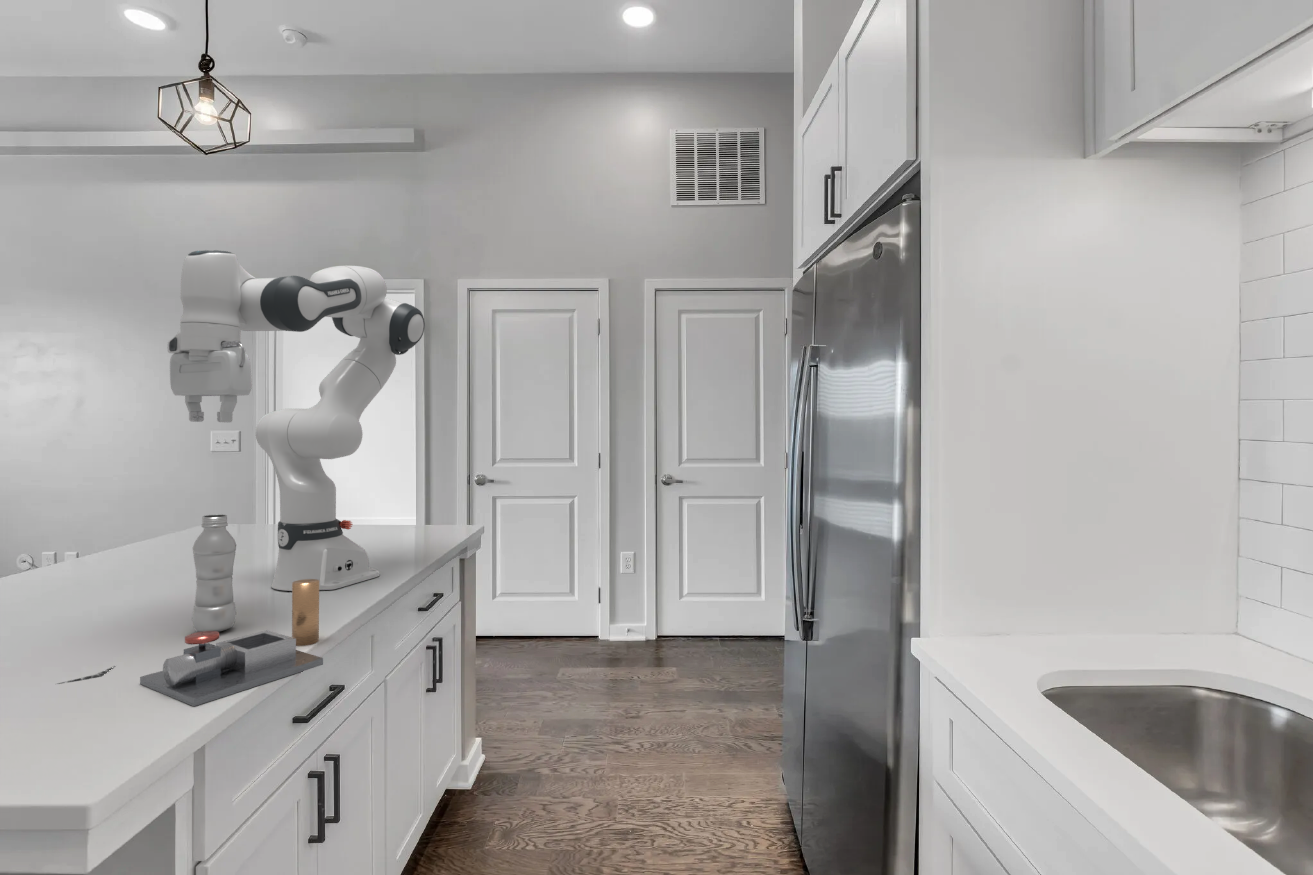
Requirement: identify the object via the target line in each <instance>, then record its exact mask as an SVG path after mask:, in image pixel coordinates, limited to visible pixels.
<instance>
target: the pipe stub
mask: <svg viewBox="0 0 1313 875" xmlns="http://www.w3.org/2000/svg"><path fill="white" fill-rule="evenodd" d="M291 608H292V609H291V637H292V638H296V647H297V646H298V647H300V646H301V647H304V646H310V645H314V644H316V643H318V642H320V590H319V580H317V579H304V580H298V581H294V582H293V583H292V591H291Z"/></svg>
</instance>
